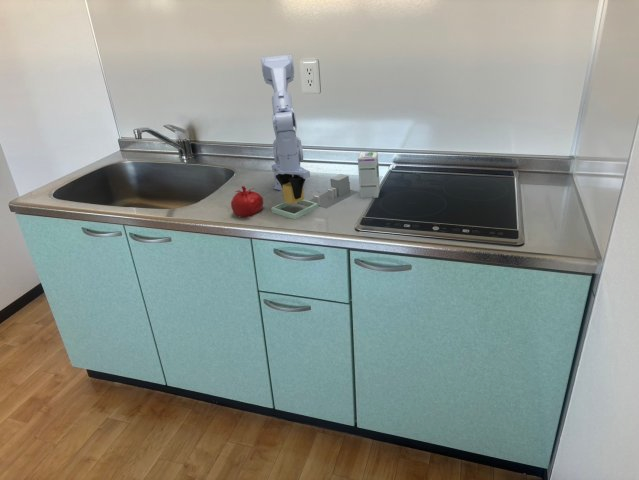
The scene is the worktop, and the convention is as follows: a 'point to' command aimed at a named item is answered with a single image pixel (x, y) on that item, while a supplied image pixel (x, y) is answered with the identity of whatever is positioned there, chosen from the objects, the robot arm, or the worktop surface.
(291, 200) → the block
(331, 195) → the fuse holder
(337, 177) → the grey rectangular block
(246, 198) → the pomegranate
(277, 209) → the tray
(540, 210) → the worktop surface
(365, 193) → the syrup box
